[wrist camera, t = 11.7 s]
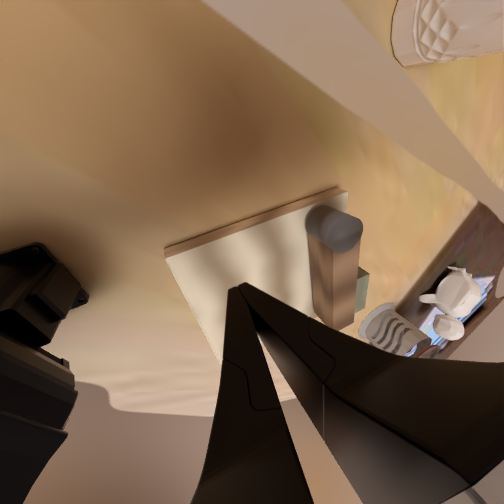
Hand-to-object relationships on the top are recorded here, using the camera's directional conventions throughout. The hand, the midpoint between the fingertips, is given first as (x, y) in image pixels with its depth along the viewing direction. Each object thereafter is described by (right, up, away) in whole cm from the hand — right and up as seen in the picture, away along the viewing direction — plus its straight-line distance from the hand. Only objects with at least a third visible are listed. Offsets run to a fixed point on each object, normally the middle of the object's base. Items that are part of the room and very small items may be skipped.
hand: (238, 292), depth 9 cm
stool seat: (+3, -2, +18) cm, 19 cm away
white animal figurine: (+42, -7, +40) cm, 58 cm away
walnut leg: (+9, 0, +17) cm, 20 cm away
